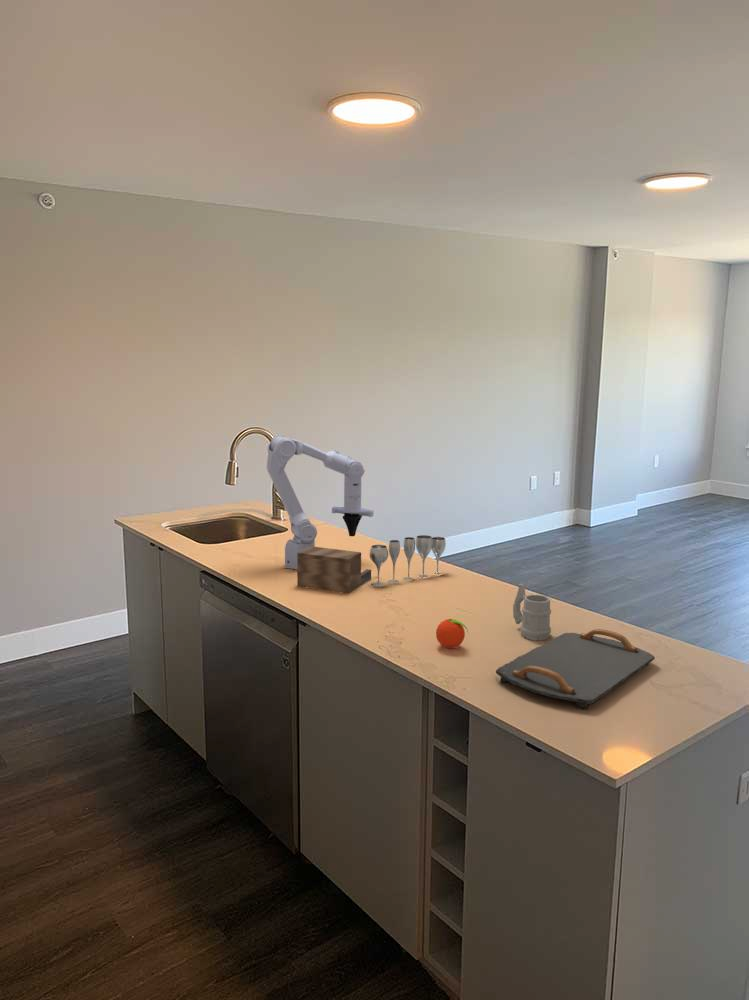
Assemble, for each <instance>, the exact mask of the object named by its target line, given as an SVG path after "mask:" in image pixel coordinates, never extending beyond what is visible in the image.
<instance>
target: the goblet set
mask: <svg viewBox="0 0 749 1000" xmlns="http://www.w3.org/2000/svg"><path fill="white" fill-rule="evenodd" d="M446 544H447V542H446V538H445V537H441V536H433V537H432V536H431V535H425V534H424V535H422V534H421V535H417V536H416V539H415V538H414V537H409V536H407V537H404V539H403V552H404V555H405V557H406V559H407V572H408V573H407V576H406V577H402V580H403V579H404V580H403V581H405V580H413V578H414V577H410V566H411V561H412V558H413V556H414V553H415V551H417V553H418V555H419V556H420V558H421V561H422V574H423V575H420V574H418V575H419V577H421V578H423V577H428V574H425V564H426V563H425V561H426V558H427V557H428V555H429V554H430V552H431V551H432V554H433V555H434V557H435V559H436V571H435V573H434V574H438V575H439V574H441V573H442V572H441V573H439V561H440V558H441V556H442V555H443V554H444V551H445V549H446V546H447V545H446ZM400 552H401V543H400V540H398V539H396V540H395V539H391V540H389V543H388V547H387V546H386V545H384V544H373V545H371V547H370V550H369V555H368V556H369V558H370V560H371V562H372V563H374V565H375V566H376V568H377V581H376V582H375V581H374V582H371V583H370V585H371V586H372V587H379V588H380V587H385V586H386V585H387V584H386V583H385V582H382V581H380V570H381V567H382V566H383V564H384V563H385V562H387V560H388V558H389V556H390V559H391V562H392V569H393V570H392V571H393V572H392V574H393V576H392V579H389V580H387V583H388V582H389V584H393V583H394V585H395V584H399V581H400V580H397V579H395V569H396V562H397V561H398V558H399V555H400ZM421 578H420V579H421ZM413 581H414V580H413Z"/></svg>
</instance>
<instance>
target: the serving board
mask: <svg viewBox="0 0 749 1000" xmlns="http://www.w3.org/2000/svg"><path fill="white" fill-rule="evenodd" d="M596 635H601V636H605V637H600V636H596ZM606 637H609V638H606ZM610 638H613V639H610ZM614 639H615V640H614ZM655 658H656V657H655V656H654V655H653V654H652V653H650V652H648V651H646V650H643V649H640V648H639V647H636V646H634V645H632V644H631V642H630V640H628V638H627V637H626V636H624V635H623V634H621V633H618V632H615V631H612V630H609V629H604V628H603V629H602V628H594V629H592V630H590V631H589V632H587V633H584V632H582V633H577V632H565V633H561V634H560V635H558V636H556V637H555V638H553V639H550V640H548V641H546V642H545V643H544V644H543V645H540V646H537V647H535V648H533V649H531V650H530V651H528V652H526V653H525V654H522V655H520V656H517V658H515V659H513V660H511V661H510V662H507V663H505V664H503V665H502V666H500V667H498V668H497V669H496V670H495V673H496V674H497V675H498V676H499V677H500V681H499V682H500V683H501V684H503V685H508V684H510V683H511V684H513V685H515V686H518V687H519V688H522V689H524V690H527V691H530V692H532V693H536V694H539V695H542V696H545V697H550V698H554V699H560V700H564V701H569V702H572V703H573V702H575V703H576V708H577V709H579V710H582V711H585V710H587V709H588V707H589V706H588V705H589V704H593V703H594V702H596V701H598V700H599V699H601V698H602V697H604V696H605V695H606V694H608V693H609V692H610V691H612V690H614V689H615V687H618V686H619V685H620V684H622V683H623V682H624V681H626V680H628V679H629V678H630V677H633V675H635V674H636V673H637V672H639V671H641V669H643V668H644V667H647V666H649V664H650V663H651V662H653V661H654V660H655Z"/></svg>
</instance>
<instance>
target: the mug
mask: <svg viewBox="0 0 749 1000" xmlns="http://www.w3.org/2000/svg"><path fill="white" fill-rule="evenodd" d="M522 602H523V606H522V609H521V603H522ZM512 605H513V606H512V611H513V612H512V613H513V614H512V616H513V619H514V621H515V624H516V625H519V624H520V623H521V625H520V626H519V627H520V628H519V630H520V635H521V637H522V638H524V639H525V638H526V639H527V640H529V641H530V640H531V641H540V642H541V641H546V640H548V639H549V638H550V634H551V633H552V627H551V622H550V620H551V618H550V617H551V615H552V610H551V598H550V597H548V596H546V595H542V594H526V590H525V586H524V584H523V583H519V584H518V589H517V593H516V597H515V599H514V603H513V604H512Z"/></svg>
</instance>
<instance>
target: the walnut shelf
mask: <svg viewBox="0 0 749 1000" xmlns="http://www.w3.org/2000/svg"><path fill="white" fill-rule="evenodd" d="M296 570H297V571H296V573H297V576H296V577H297V579H296V580H297V583H296V584H297V587H298V586H300V588H305V587H308V588H307V589H312V588H314V590H319V589H320V591H326V590H327V591H326V592H333V591H334V593H339V592H342V593H341V594H346V593H348V594H347V595H349V594H350V593H352V592H354V591H355V590H357V589H358V588H360V587H361V586H363V585H364V584H366V583H367V582H369V581H370V580H371V579H372V569H365V570H363V571H362V552H361V551H354V550H353V551H352V550H346V549H345V550H344V549H337V548H328V547H320V546H315V547H313V546H311V547H309V548H307V549H304V550H302V551H300V552H298V553H297V569H296Z"/></svg>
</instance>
